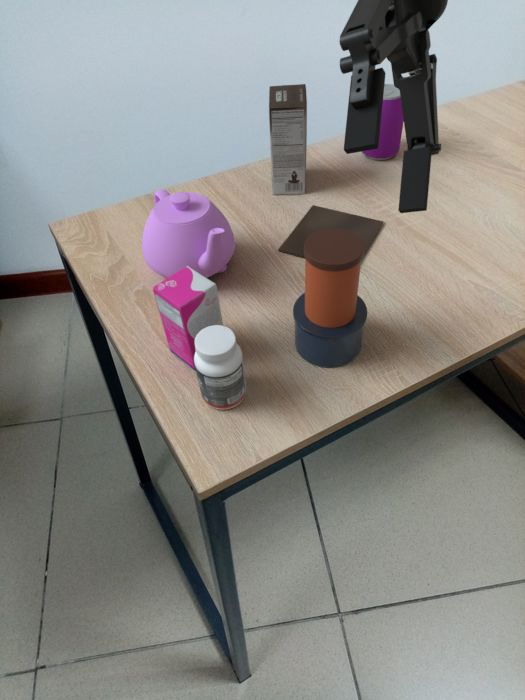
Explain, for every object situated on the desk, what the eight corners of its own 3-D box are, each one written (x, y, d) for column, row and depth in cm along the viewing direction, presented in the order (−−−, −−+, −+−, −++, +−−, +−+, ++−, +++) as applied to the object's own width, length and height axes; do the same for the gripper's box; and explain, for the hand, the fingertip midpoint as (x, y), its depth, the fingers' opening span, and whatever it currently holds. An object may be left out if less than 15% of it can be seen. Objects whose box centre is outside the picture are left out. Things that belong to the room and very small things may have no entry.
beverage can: (390, 165, 102) (399, 102, 94) (353, 157, 105) (358, 95, 96) (404, 148, 107) (414, 86, 98) (368, 140, 110) (374, 79, 101)
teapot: (268, 282, 81) (265, 211, 72) (188, 322, 76) (173, 251, 66) (201, 223, 92) (190, 156, 83) (127, 255, 87) (107, 187, 78)
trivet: (383, 223, 90) (383, 221, 89) (354, 271, 81) (354, 269, 81) (312, 206, 94) (312, 205, 94) (278, 251, 86) (278, 249, 86)
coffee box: (271, 170, 103) (268, 84, 92) (304, 169, 103) (305, 82, 91) (271, 195, 97) (268, 107, 85) (306, 194, 97) (308, 105, 85)
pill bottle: (204, 375, 69) (193, 321, 61) (247, 375, 68) (241, 320, 61) (199, 411, 65) (186, 358, 58) (245, 411, 65) (238, 357, 57)
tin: (372, 330, 73) (377, 297, 68) (348, 378, 67) (351, 346, 63) (310, 310, 76) (310, 278, 72) (281, 355, 71) (280, 323, 66)
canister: (364, 300, 68) (372, 236, 61) (345, 335, 64) (351, 270, 57) (315, 286, 70) (318, 223, 63) (294, 319, 66) (294, 255, 59)
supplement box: (200, 327, 75) (188, 263, 66) (228, 349, 72) (219, 284, 63) (167, 350, 72) (150, 286, 64) (195, 373, 69) (181, 308, 61)
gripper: (411, 60, 63) (395, 232, 61) (314, -127, 43) (285, 123, 40) (477, 42, 59) (463, 226, 57) (406, -174, 38) (379, 101, 36)
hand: (389, 183), depth 49 cm, fingers open, 13 cm apart
